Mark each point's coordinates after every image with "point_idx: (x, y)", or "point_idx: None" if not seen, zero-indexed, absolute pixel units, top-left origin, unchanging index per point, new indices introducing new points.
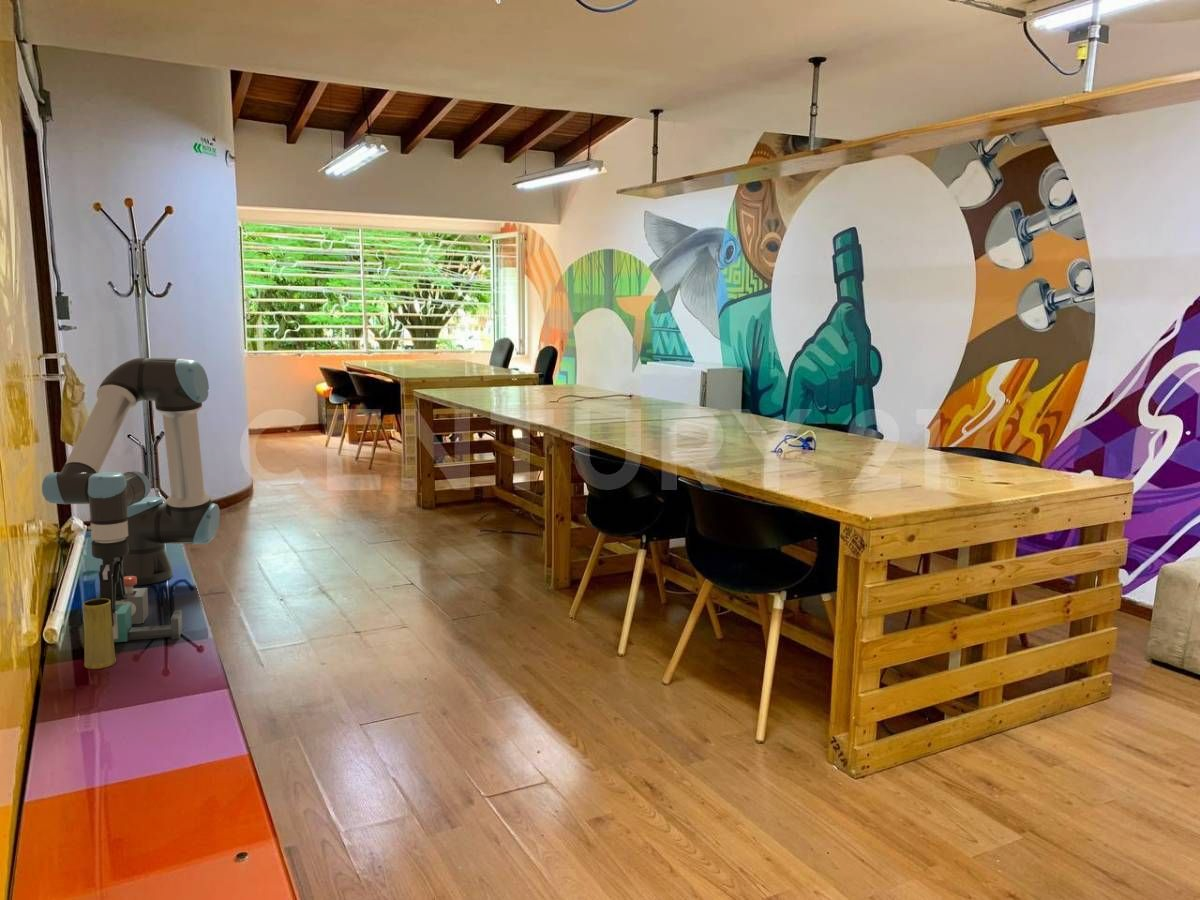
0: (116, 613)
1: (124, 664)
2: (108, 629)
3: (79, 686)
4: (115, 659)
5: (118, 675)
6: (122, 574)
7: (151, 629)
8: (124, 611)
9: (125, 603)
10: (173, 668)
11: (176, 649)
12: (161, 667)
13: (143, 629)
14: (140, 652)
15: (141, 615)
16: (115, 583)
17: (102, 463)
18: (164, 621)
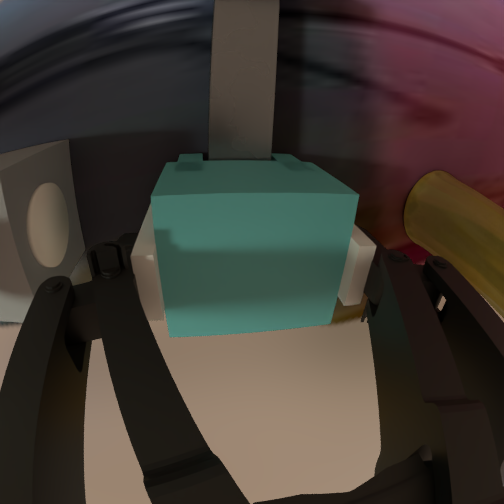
0: (365, 240)
1: (455, 148)
2: None
3: None
4: (445, 173)
5: (493, 160)
6: (35, 434)
7: (262, 61)
8: (319, 204)
9: (39, 244)
10: (495, 48)
11: (399, 2)
12: (488, 69)
13: (252, 95)
14: (396, 103)
15: (53, 153)
16: (452, 400)
17: None
18: (59, 63)
